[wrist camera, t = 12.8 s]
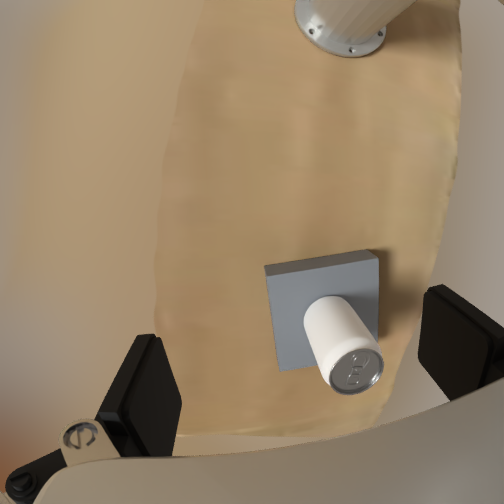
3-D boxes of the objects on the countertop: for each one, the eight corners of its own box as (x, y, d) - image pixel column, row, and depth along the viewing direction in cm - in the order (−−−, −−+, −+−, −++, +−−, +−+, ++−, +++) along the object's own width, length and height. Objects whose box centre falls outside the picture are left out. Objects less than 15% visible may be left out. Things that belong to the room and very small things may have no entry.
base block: (264, 265, 41) (266, 276, 37) (366, 249, 41) (378, 257, 37) (276, 355, 45) (279, 371, 41) (367, 337, 45) (377, 351, 41)
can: (356, 295, 39) (396, 344, 27) (345, 340, 40) (376, 396, 29) (307, 292, 38) (333, 344, 27) (298, 338, 40) (317, 399, 28)
